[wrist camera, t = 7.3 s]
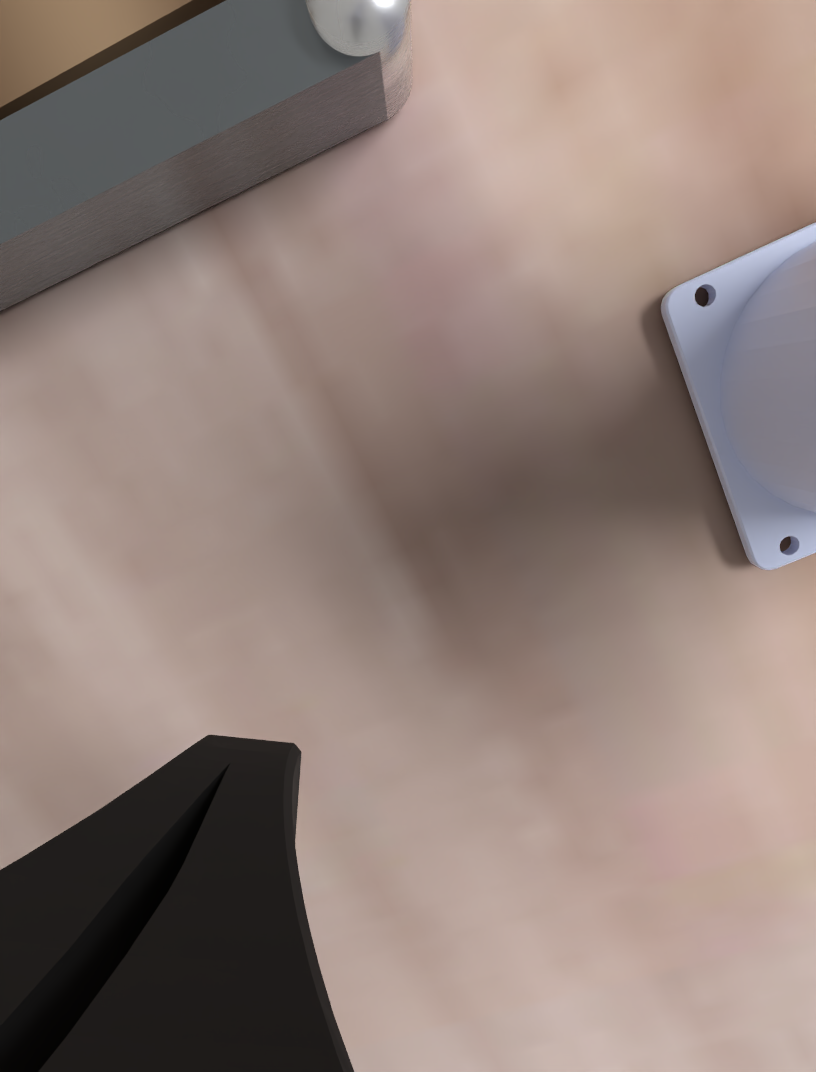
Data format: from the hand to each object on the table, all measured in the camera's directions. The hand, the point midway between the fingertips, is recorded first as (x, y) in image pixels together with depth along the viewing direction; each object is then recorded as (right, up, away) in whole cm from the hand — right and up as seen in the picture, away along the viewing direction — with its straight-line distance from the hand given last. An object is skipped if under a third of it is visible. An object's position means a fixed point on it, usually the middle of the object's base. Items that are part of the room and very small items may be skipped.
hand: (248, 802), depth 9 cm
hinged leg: (-5, +12, +7) cm, 15 cm away
